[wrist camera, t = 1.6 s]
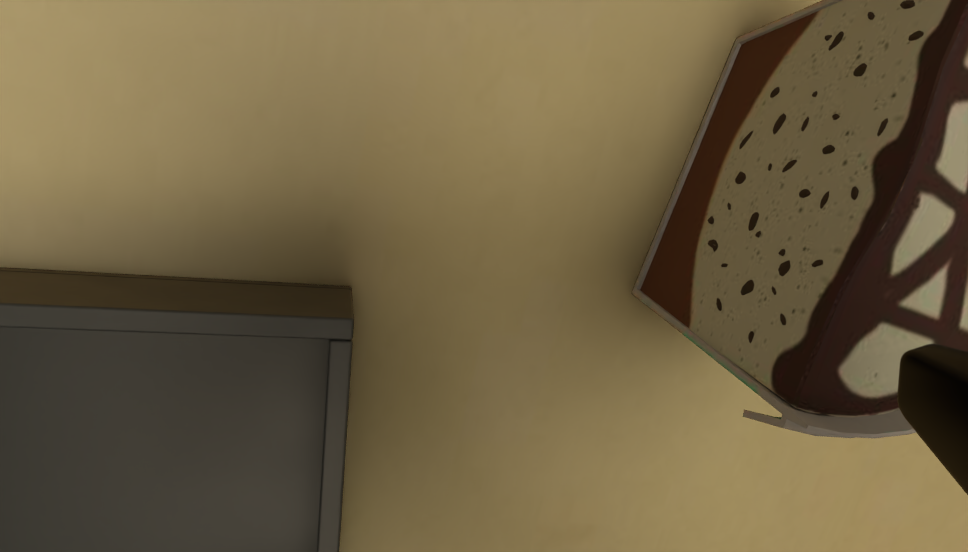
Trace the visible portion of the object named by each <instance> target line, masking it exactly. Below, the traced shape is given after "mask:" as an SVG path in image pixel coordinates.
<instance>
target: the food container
mask: <svg viewBox="0 0 968 552" xmlns="http://www.w3.org/2000/svg"><path fill="white" fill-rule="evenodd" d="M632 294H633V295H634V296H636V297H637V298H638V299H639V300H641V301H642V302H643V303H644V304H646V305H647V306H648V307H649V308H651V309H652V310H653V311H654V312H656V313H657V314H658V315H659V316H661V317H662V318H663V319H664V320H666V321H667V322H668V323H669V324H671V325H672V326H673V327H674V328H676V329H677V330H678V331H679V332H681V333H682V334H683V335H684V336H686V337H687V338H688V339H689V340H691V341H692V342H693V343H694V344H696V345H697V346H698V347H699V348H701V349H702V350H703V351H704V352H706V353H707V354H708V355H709V356H711V357H712V358H713V359H714V360H716V361H717V362H718V363H719V364H721V365H722V366H723V367H724V368H726V369H727V370H728V371H729V372H731V373H732V374H733V375H734V376H736V377H737V378H738V379H739V380H741V381H742V382H743V383H744V384H746V385H747V386H748V387H749V388H751V389H752V390H753V391H754V392H756V393H757V394H758V395H759V396H761V397H762V398H763V399H764V400H766V401H767V402H768V403H769V404H771V405H772V406H773V407H774V408H776V409H777V410H778V411H779V412H781V413H782V414H783V415H782V417H772V416H768V415H764V414H760V413H756V412H752V411H747V410H744V413H743V417H747V418H750V419H754V420H757V421H760V422H764V423H767V424H771V425H774V426H778V427H781V428H785V429H789V430H793V431H797V432H802V433H806V434H810V435H814V436H827V437H843V438H854V437H861V438H881V437H890V436H898V435H907V434H912V433H915V432H916V431H915V430H914V429H913V428H912V426H911V425H910V424H909V423H908V421H907V420H906V419H905V418H904V416H903V415H902V413H901V411H900V409H899V406H898V402H897V392H898V380H899V367H900V359H901V357H902V355H903V354H904V353H905V352H907V351H909V350H912V349H915V348H918V347H921V346H924V345H927V344H940V345H944V346H948V347H952V348H956V349H960V350H964V351H968V0H822V1H820V2H818V3H815V4H813V5H811V6H809V7H806V8H804V9H802V10H799V11H797V12H795V13H793V14H790V15H788V16H786V17H783V18H781V19H779V20H777V21H774V22H772V23H770V24H767V25H765V26H763V27H761V28H758V29H756V30H754V31H751V32H749V33H747V34H745V35H742V36H740V37H738V38H737V39H736V41H735V43H734V46H733V48H732V51H731V53H730V56H729V58H728V60H727V63H726V65H725V68H724V70H723V73H722V75H721V77H720V80H719V82H718V85H717V87H716V90H715V92H714V94H713V97H712V99H711V102H710V104H709V107H708V109H707V111H706V114H705V116H704V119H703V121H702V124H701V126H700V128H699V131H698V133H697V136H696V138H695V141H694V143H693V145H692V148H691V150H690V153H689V155H688V157H687V160H686V162H685V165H684V167H683V170H682V172H681V174H680V177H679V179H678V182H677V184H676V187H675V189H674V191H673V194H672V196H671V199H670V201H669V204H668V206H667V208H666V211H665V213H664V216H663V218H662V221H661V223H660V225H659V228H658V230H657V233H656V235H655V238H654V240H653V242H652V245H651V247H650V250H649V252H648V255H647V257H646V259H645V262H644V264H643V267H642V269H641V272H640V274H639V276H638V279H637V281H636V284H635V286H634V289H633V291H632Z"/></svg>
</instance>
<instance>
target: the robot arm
mask: <svg viewBox="0 0 968 552" xmlns="http://www.w3.org/2000/svg"><path fill="white" fill-rule="evenodd" d="M897 402H898V406H899V409H900V411H901V413H902V415H903V416H904V418H905V419H906V420H907V421H908V423H909V424H910V425H911V426H912V428H913V429H914V430H915V431H916V432H917V434H918V435H919V436H920V437H921V438H922V440H923V441H924V442H925V443H926V445H927V446H928V447H929V448H930V449H931V451H932V452H933V453H934V454H935V456H936V457H937V458H938V459H939V460H940V462H941V463H942V464H943V465H944V467H945V468H946V469H947V470H948V471H949V473H950V474H951V475H952V476H953V478H954V479H955V480H956V481H957V482H958V484H959V485H960V486H961V487H962V489H963V490H964V491H965V492H966V493H967V495H968V351H964V350H960V349H956V348H952V347H948V346H944V345H940V344H927V345H924V346H921V347H918V348H915V349H912V350H909V351H907V352H905V353H904V354H903V355H902V357H901V359H900V367H899V380H898V392H897Z"/></svg>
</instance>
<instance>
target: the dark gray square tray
mask: <svg viewBox="0 0 968 552" xmlns="http://www.w3.org/2000/svg"><path fill="white" fill-rule="evenodd" d="M353 329H354V314H353V300H352V288H351V287H350V286H336V285H317V284H298V283H280V282H261V281H242V280H223V279H205V278H186V277H167V276H148V275H130V274H111V273H92V272H74V271H55V270H36V269H17V268H0V552H339V547H340V531H341V516H342V500H343V485H344V469H345V454H346V438H347V422H348V407H349V391H350V376H351V360H352V345H353V341H352V338H353Z"/></svg>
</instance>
